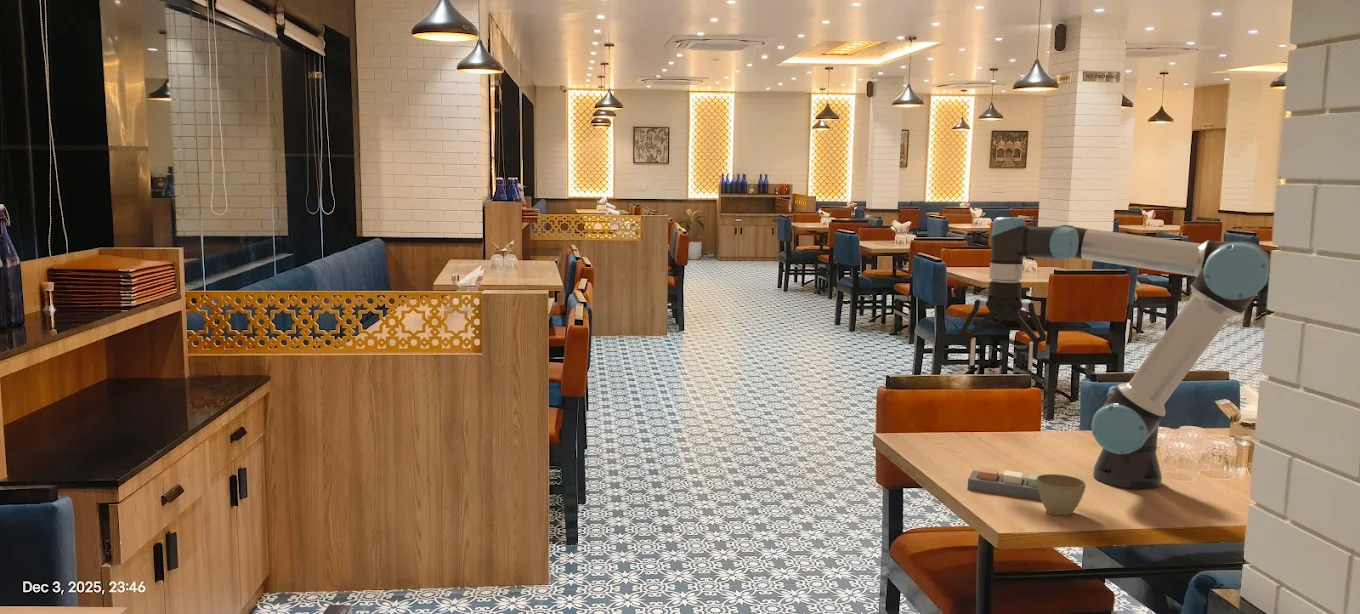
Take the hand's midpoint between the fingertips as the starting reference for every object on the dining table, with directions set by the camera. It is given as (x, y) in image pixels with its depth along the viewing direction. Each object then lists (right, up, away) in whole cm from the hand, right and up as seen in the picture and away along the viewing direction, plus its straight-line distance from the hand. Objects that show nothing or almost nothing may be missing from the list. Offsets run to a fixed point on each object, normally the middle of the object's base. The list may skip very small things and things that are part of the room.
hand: (1000, 367), depth 239 cm
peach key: (-6, -26, -10) cm, 29 cm away
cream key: (-1, -27, -12) cm, 29 cm away
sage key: (+4, -27, -15) cm, 31 cm away
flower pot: (+4, -30, -26) cm, 40 cm away
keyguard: (-1, -28, -12) cm, 31 cm away
